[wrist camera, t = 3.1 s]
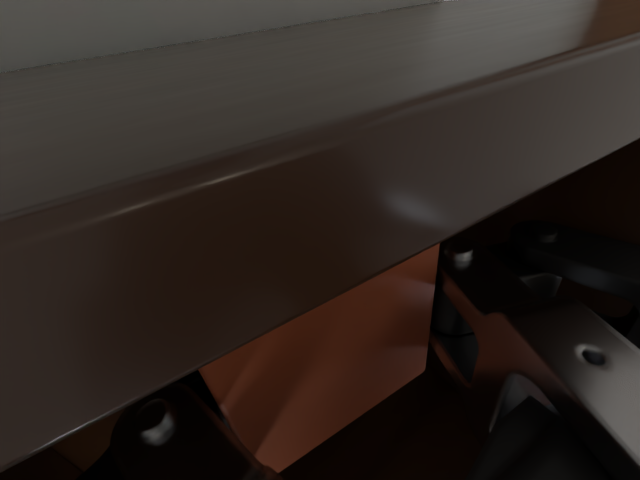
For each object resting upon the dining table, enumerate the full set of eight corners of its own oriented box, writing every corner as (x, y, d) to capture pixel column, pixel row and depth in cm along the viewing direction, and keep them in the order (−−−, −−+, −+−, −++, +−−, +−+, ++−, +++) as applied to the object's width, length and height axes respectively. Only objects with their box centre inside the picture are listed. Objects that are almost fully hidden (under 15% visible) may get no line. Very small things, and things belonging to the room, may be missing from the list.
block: (142, 209, 8) (185, 348, 4) (315, 153, 9) (445, 219, 6) (205, 338, 10) (262, 487, 7) (331, 276, 12) (426, 371, 9)
